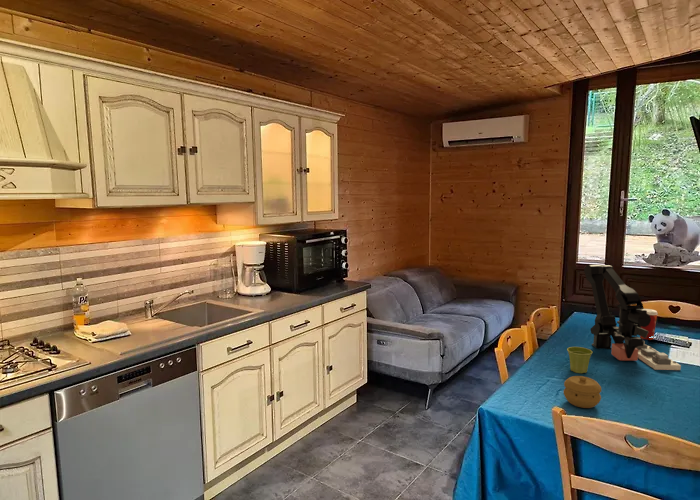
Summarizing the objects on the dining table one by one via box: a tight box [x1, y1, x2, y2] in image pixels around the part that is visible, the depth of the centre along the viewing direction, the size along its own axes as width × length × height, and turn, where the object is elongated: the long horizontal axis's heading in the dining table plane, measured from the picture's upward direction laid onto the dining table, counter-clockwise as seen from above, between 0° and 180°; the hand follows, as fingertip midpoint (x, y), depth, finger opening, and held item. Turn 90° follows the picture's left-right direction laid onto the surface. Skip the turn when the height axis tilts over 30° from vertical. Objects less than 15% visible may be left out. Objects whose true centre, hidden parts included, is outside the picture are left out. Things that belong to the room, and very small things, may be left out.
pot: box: [562, 375, 602, 409], centre depth 166 cm, size 12×12×10 cm
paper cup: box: [639, 308, 658, 341], centre depth 236 cm, size 8×8×14 cm
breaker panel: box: [636, 344, 682, 371], centre depth 208 cm, size 10×24×4 cm, turn 176°
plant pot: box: [566, 346, 593, 374], centre depth 195 cm, size 9×9×9 cm
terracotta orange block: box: [611, 342, 639, 361], centre depth 209 cm, size 7×7×5 cm
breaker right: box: [655, 352, 669, 359], centre depth 199 cm, size 3×3×2 cm
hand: (624, 354), depth 209 cm, fingers closed on terracotta orange block, 7 cm apart
